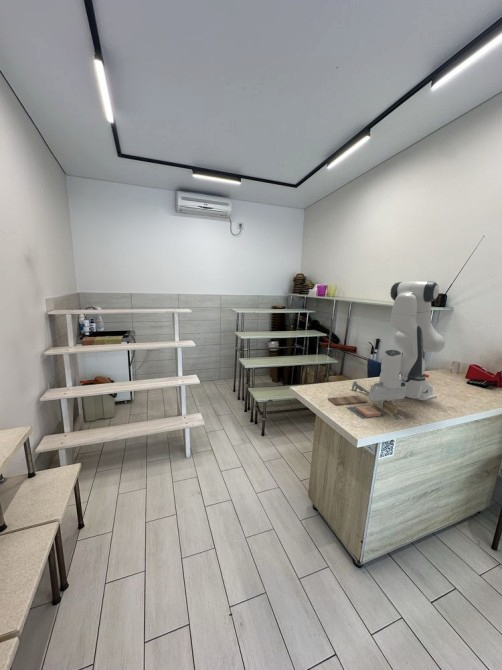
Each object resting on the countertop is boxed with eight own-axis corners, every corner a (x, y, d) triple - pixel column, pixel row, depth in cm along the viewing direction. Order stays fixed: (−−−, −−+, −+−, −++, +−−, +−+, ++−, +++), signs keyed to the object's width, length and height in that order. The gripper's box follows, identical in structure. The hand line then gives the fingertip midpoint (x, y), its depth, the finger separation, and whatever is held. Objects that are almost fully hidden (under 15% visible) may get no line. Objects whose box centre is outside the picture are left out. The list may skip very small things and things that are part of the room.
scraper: (379, 404, 139) (381, 396, 138) (404, 419, 124) (406, 409, 123) (372, 405, 138) (373, 396, 137) (396, 420, 122) (398, 410, 122)
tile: (368, 405, 132) (380, 412, 125) (368, 408, 133) (380, 416, 125) (355, 406, 130) (367, 414, 123) (355, 410, 130) (366, 417, 123)
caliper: (351, 389, 160) (352, 380, 159) (352, 389, 160) (353, 380, 159) (383, 402, 143) (384, 391, 142) (384, 402, 144) (385, 391, 143)
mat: (368, 406, 137) (368, 405, 137) (385, 416, 126) (385, 416, 125) (346, 408, 133) (346, 407, 133) (362, 419, 122) (362, 418, 122)
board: (357, 397, 148) (358, 395, 148) (367, 403, 140) (367, 401, 140) (327, 400, 142) (327, 398, 142) (336, 406, 135) (336, 404, 134)
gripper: (376, 385, 124) (373, 412, 126) (409, 383, 130) (405, 408, 132) (367, 381, 130) (364, 406, 132) (399, 378, 136) (395, 403, 138)
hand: (385, 407), depth 132 cm, fingers closed on scraper, 3 cm apart
